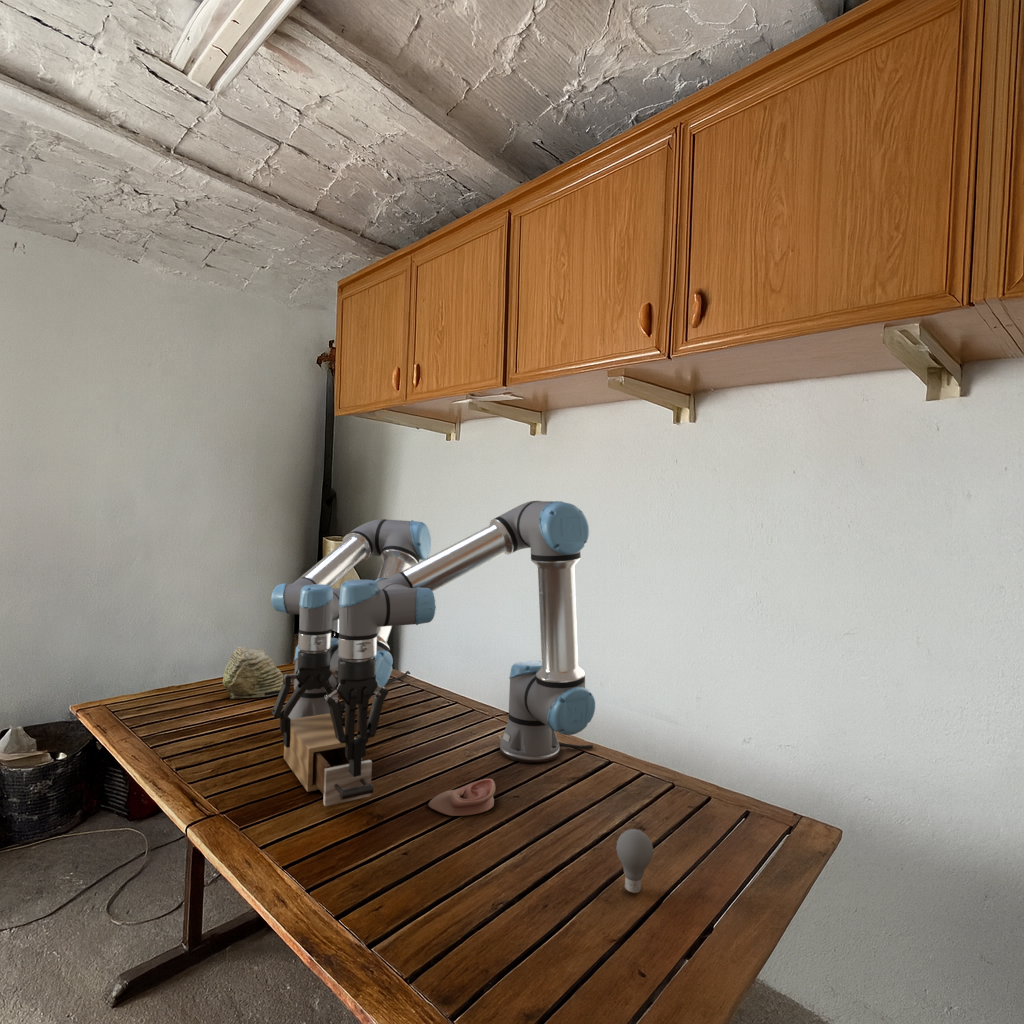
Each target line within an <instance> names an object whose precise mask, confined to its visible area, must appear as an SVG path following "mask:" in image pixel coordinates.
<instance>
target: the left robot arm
mask: <svg viewBox="0 0 1024 1024" xmlns="http://www.w3.org/2000/svg"><path fill="white" fill-rule="evenodd" d="M430 532H431V531H430V529H429V527H428V526H427V524H426V523H425V522H423V521H417V520H413V519H411V520H402V519H401V520H399V519H386V518H379V519H374V520H370V521H368V522H365V523H363V524H361V525H359V526H357V527H355V528H354V529H353V530H352V529H351V531H350V532H348V533H347V534H346V535H345V536H344V537H343V539H342V541H341V543H340V544H339V545H338V546H336V547H335V548H334V549H332V550H331V551H330V552H329V553H328V554H326V555H325V556H324V557H323V558H322V559H321V560H319V561H318V562H317V563H316V564H314V565H313V566H312V567H311V568H310V569H308V570H307V571H305V572H304V573H303V574H302V575H301V576H300V577H298V579H297V580H295V581H294V582H292V583H289V582H286V583H279V584H277V585H276V586H274V589H273V590H272V593H271V596H270V601H271V606H272V608H273V609H274V610H275V611H276V612H279V613H283V614H286V615H287V614H288V615H299V617H298V618H299V624H298V625H299V626H298V627H299V628H298V641H297V645H296V647H295V652H294V653H295V654H294V659H293V660H294V672H293V673H289V674H288V673H284V674H282V675H283V684H282V687H281V690H280V692H279V694H277V697H276V701H275V702H274V705H273V708H272V711H271V715H272V716H273V717H274V719H279V731H280V733H281V734H283V741H282V742H283V746H284V745H285V746H286V748H287V747H290V723H291V719H295V718H302V717H308V716H315V715H322V714H328V713H330V710H329V706H328V704H327V703H326V701H325V700H324V696H325V695H326V694H328V695H329V694H331V693H332V692H333V691H334V690H335V686H336V684H337V682H338V660H339V659H340V657H339V656H338V645H339V638H337V637H332V626H333V622H334V621H338V620H339V599H340V588H341V587H338V588H337V587H336V588H334V587H333V586H334V585H335V584H336V583H337V582H338V581H339V580H341V579H342V578H343V577H344V576H345V575H346V574H347V573H349V572H350V571H351V570H352V569H353V568H354V567H355V566H356V565H357V564H359V563H361V562H365V561H367V560H368V559H369V558H372V557H380V559H381V560H382V564H381V567H380V570H379V572H378V575H377V578H376V580H377V579H380V578H390V577H392V576H394V575H395V574H398V573H400V572H402V571H404V570H406V569H407V568H409V567H411V566H413V565H415V564H417V563H419V562H420V561H423V560H425V559H427V558H429V557H430V554H431V550H432V549H431V548H432V537H431V533H430ZM392 628H393V626H384V627H378V628H377V654H376V656H374V657H375V658H376V660H377V661H376V680H377V682H378V685H379V686H383V687H385V686H386V685H387V684H391V683H393V682H395V681H399V680H401V679H404V678H405V677H407V675H411V672H410V671H409V670H407V671H406V672H405V673H404V674H402V675H400V676H398V677H395V678H392V679H390V677H391V675H392V671H393V664H394V659H393V656H392V654H391V652H390V651H391V648H390V645H389V644H388V640H389V637H390V634H391V631H392ZM291 685H293V692H292V694H291V695H290V697H289V698H288V700H287V697H288V695H289V692H290V689H291ZM286 701H287V702H286ZM336 704H337V706H338V708H339V712H340V716H341V721H342V723H343V722H344V713H345V702H344V701H343V700H342V699H341V701H340V699H339V698H338V703H336Z"/></svg>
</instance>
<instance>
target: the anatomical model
mask: <svg viewBox="0 0 1024 1024" xmlns="http://www.w3.org/2000/svg"><path fill="white" fill-rule="evenodd" d="M495 793H496V783H495V781H494V779H492V778H483V779H480V780H477V781H473V782H470V783H468V784H465V785H464V786H461V787H459V788H456V789H451V790H446V791H443V792H441V793H439V794H437V795H436V796H434V797H433V798H431V800H429V802H428V804H427V805H428V808H430V809H431V810H434V811H436V812H438V813H439V814H443V815H446V816H450V817H461V816H472V815H478V814H481V813H484V812H487V811H489V810H491V809H492V808H493V807H494V806H495V805H494V804H495V798H494V795H495Z"/></svg>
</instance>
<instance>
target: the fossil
mask: <svg viewBox="0 0 1024 1024" xmlns="http://www.w3.org/2000/svg"><path fill="white" fill-rule="evenodd" d="M283 675H284V674H283V673H282V672H281V669H279V668H278V667H277V665H276V663H275V662H274V660H273V659H272V658H271V657H270V656H269V655H268V654H267V653H266V652H265V650H264V649H263V648H260V647H258V648H251V647H247V646H246V647H245V646H238V647H237V648H236V649H235V650H233V651H232V653H231V656H230V657H229V659H228V660H227V663H226V666H225V668H224V671H223V675H222V676H223V677H222V685H223V687H224V688H225V690H226V691H228V693H229V698H230V699H250V698H264V697H271V696H275V695H279V692H280V690H281V687H282V684H283Z"/></svg>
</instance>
